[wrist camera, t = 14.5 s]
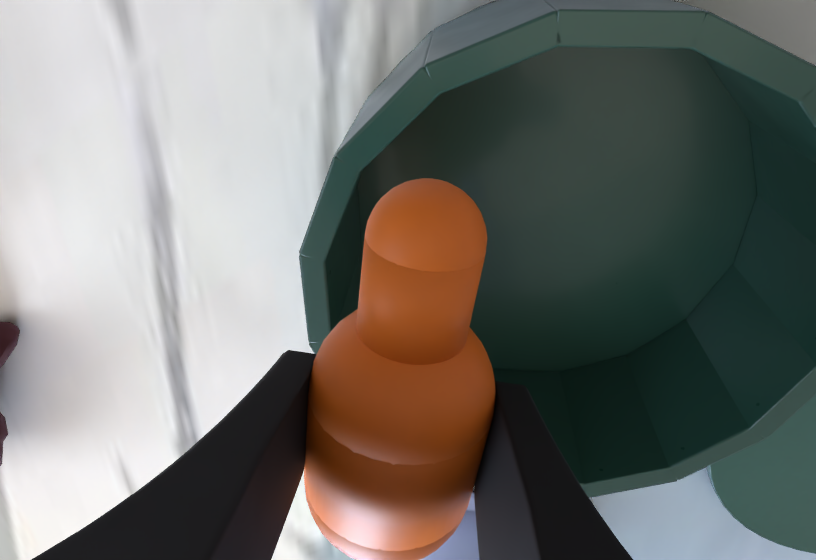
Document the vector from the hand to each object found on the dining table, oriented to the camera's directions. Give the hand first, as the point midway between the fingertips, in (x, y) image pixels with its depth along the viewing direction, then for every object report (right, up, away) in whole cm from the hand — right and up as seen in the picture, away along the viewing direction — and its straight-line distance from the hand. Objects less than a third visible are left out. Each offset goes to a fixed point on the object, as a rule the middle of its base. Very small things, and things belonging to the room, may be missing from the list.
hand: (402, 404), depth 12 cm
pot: (+5, +5, +8) cm, 11 cm away
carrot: (+1, -1, -1) cm, 2 cm away
